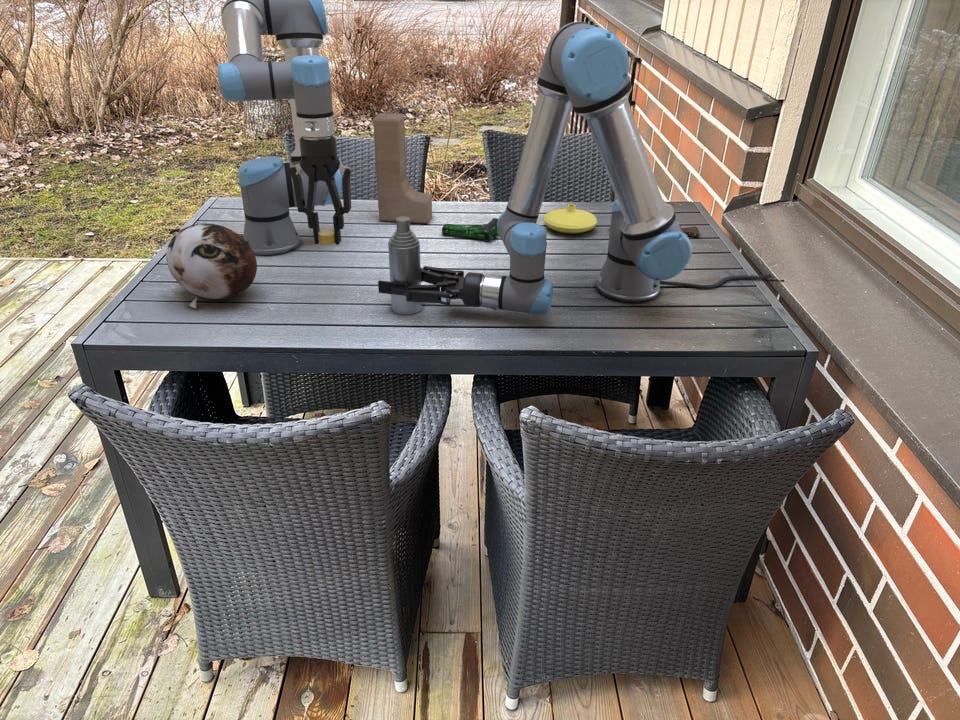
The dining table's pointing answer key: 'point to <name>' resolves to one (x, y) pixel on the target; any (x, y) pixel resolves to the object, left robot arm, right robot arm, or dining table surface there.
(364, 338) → the dining table surface
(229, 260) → the cat face ball
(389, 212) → the decorative block
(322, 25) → the left robot arm
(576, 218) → the yellow pot lid
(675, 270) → the right robot arm
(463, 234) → the handgun
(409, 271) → the bottle
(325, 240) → the cap
